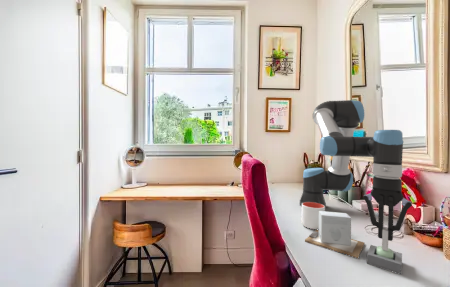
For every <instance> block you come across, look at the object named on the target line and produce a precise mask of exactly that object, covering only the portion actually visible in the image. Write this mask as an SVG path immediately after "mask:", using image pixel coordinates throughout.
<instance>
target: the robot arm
mask: <svg viewBox="0 0 450 287" xmlns="http://www.w3.org/2000/svg"><path fill="white" fill-rule="evenodd" d="M312 112H313V113H312V120H313V122H314V123H315V125H317V127H318V129H319V131H320V135H321V138H320V141H319V150H320V151H319V152H320V154H321V155H322V156H330V157H331V158H332V159H331V165H329V166H328V168H327V170H325V169H324V168H322V167H311V168H305V169H304V170H303V176H302V179H303V180H302V181H303V182H302V193H301V197H300V199H299V206H301V207H302V203H304V202H314V203H319V204H322V205H324V206H325V209H326V208H327V203H326V202H327V201H326V200H325V196H324V191H335V192H336V191H337V192H348V191H350V190H351V189H352V187H353V184H354V175H353V173H352V171H351V169H350V168H349V163H350V157H361V158H373V161H372V163H373V164H372V175H373V176H372V189H371V191H370V193H368V194H364V195H362V199H363V200H364V201H365V203H366V207H367V211H368V214H369V218H370V222H371V225H372V226H374V227H376V228H377V230H378V231H377V236H378V238H379V239H381V246H382V250H385V251H388V248H389V241H390V242H393V239H394V231H399V232H400V231H401V229H402V226H403V222H404V220H405V217H406V215H407V212H408V210H409V209H410V208H411V207H413V206H412V205H413V203H412V201H411V200H408V199H406V198H405V197H404V194H403V193H402V189H403V187H402V186H403V180H402V179H401V178H402V177H403V152H404V151H403V148H404V146H403V145H404V138H403V132H402V131H401V130H399V129H378V130H375V131H374V133H373V136H354V131H355V130H356V129H357V128H358V127H359V124H361V123H363V122H364V120H365V108H364V105H363V103H362V102H361V101H360V100H351V99H350V100H348V99H347V100H327V101H324V102H322V103H320V104H319V105H317V106H316V107H315V108H314V109H313V111H312ZM373 199H374V201H375V203H377V204H378V213H377V214H378V215H377V216H378V218H376V214H375V209H374V205H373V201H372V200H373ZM400 202H401V206H402V207H401V210H400V213H399V215H398V219H397V221H396V224H395V225H394V211H395V210H394V209H395V207H396V206H397V205H398V204H399V203H400ZM385 206H387V208H388V215H387V217H388V223H387V227H384V219H385V218H384V217H385V213H384V212H385ZM377 219H378V220H377Z"/></svg>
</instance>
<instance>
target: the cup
mask: <svg viewBox="0 0 450 287" xmlns="http://www.w3.org/2000/svg"><path fill="white" fill-rule="evenodd" d="M319 211H326V208H325V206H324V205H322V204H319V203H314V202H304V203H302V206H301V216H300V217H301V220H300V222H301V225H302V226H303V227H304V228H306V227H307V229H309V228H310V230H314V229H319Z"/></svg>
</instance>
